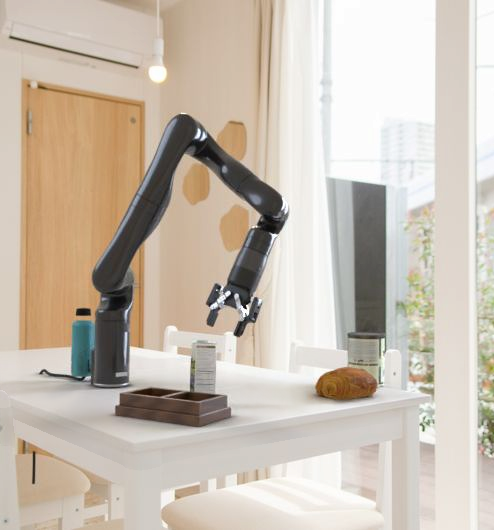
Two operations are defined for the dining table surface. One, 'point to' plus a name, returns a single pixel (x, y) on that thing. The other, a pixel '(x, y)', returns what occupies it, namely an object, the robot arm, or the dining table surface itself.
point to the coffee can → (367, 353)
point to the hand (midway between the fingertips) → (222, 331)
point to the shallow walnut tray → (173, 406)
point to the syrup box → (203, 366)
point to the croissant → (346, 384)
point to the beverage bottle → (82, 344)
